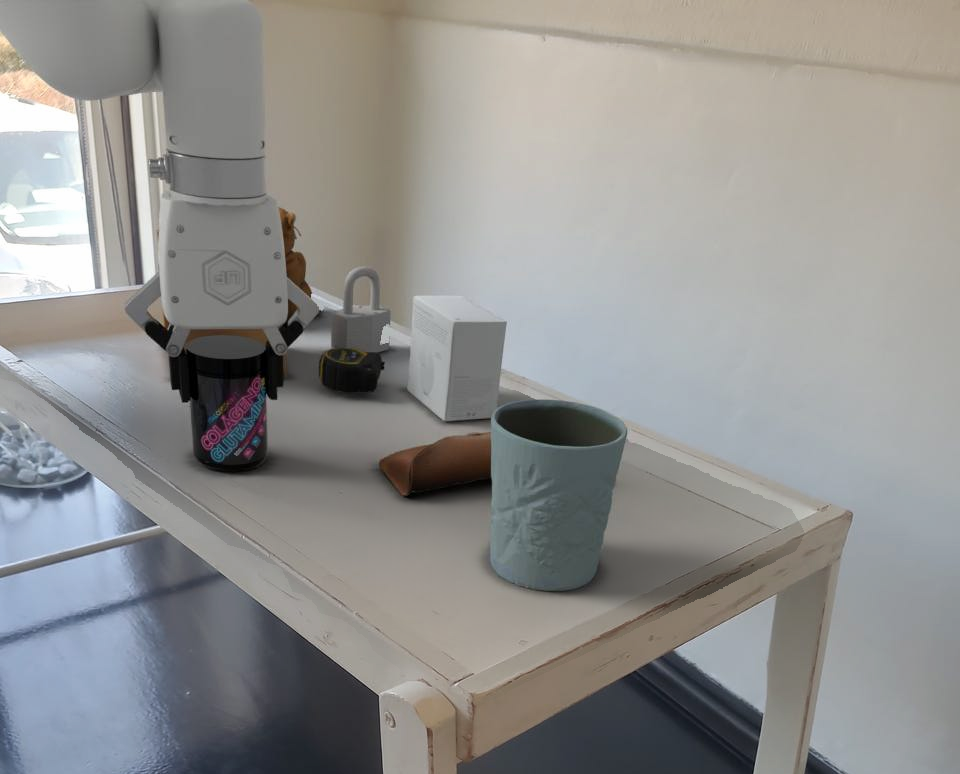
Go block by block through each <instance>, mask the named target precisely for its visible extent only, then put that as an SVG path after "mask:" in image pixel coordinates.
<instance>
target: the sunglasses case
mask: <svg viewBox="0 0 960 774" xmlns="http://www.w3.org/2000/svg"><path fill="white" fill-rule="evenodd" d="M378 467H379V469H380V470H381V471H382V473H383V474H384V476H385V477H386V479H387V480H388V482H390V484H391V485H392V486H393V487H394V488H395V490H396V491H397V492H398V493H399V494H400V495H401V496H402V497H407V496H409V495H411V494H412V493H415V494H416V493H417V494H418V493H424V492H426V491H427V492H428V491H435V490H439V489H442V488H448V487H449V488H450V487H452V486H453V487H454V486H456V485H458V484H459V485H460V484H462V485H464V484H468V483H472V482H475V481H479V480H484V481H485V480H492V478H491V431H486V432H485V431H484V432H477V431H476V432H474V431H473V432H468V434H464V435H462V434H461V435H449V436H444V437H442V438H440V439H438V440H437V441H434V442H432V443H429V444H422V445H419V446H418V445H417V446H414V447H410V448H405V449H402V450H399V451H395V452H394V453H390V454H388V455H387V456H384V457H382V458H380V459H379V462H378Z"/></svg>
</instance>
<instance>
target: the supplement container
mask: <svg viewBox="0 0 960 774" xmlns="http://www.w3.org/2000/svg"><path fill="white" fill-rule="evenodd" d="M186 355H187V358H188V369H189V384H190V399H191V401H189V409H190V425H191V426H190V427H191V440H192V453H193V456H194V458H195V460H196V461H197V462H198V464H200V465H201V466H202V467H204V468H206V469H209V470H212V471H217V472H223V473H224V472H225V473H239V472H240V473H241V472H245V471H246V472H247V471H249V470H253V469H256V468H258V467H260V466H261V465H262V464H264V462H265V461H266V459H267V457H268V453H269V449H268V448H269V446H268V444H269V443H268V410H267V409H268V407H267V406H268V405H267V394H266V348H265V345H264V344H262V343H261V342H259V341H257V340H254V339H250V338H246V337H240V336H230V335H214V336H205V337H200V338H196V339H193V340H191V341H189V342H188V343H187V344H186Z"/></svg>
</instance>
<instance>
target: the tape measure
mask: <svg viewBox="0 0 960 774" xmlns="http://www.w3.org/2000/svg"><path fill="white" fill-rule="evenodd" d="M385 364H386V361H383V358H382V356H381V354H380V353H379V352H377V353H376V352H364V351H360V350H357V349H351V348H336V349H331V348H330V349H328V350H326V351H324V352H323V353H322V354H321V355H320V358H319V360H318V378H319V380H320V382H321V384H322V385H323V386H324V387H325V388H327V389H329V390H331V391H334V392H338V393H344V394H362V393H363V394H365V393H366V394H367V393H373V392H375V391H376V390H377V388H378V384H379V379H380V376H381V372H382V371H384V370H385Z"/></svg>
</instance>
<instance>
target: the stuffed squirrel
mask: <svg viewBox="0 0 960 774" xmlns="http://www.w3.org/2000/svg"><path fill="white" fill-rule="evenodd" d="M278 208H279V213H280V219H281V225H282V232H283V241H284V250H285V261H286V276H287V278H288V279H290V280H291V281H292V282H293V283H294V284H295V285H296V286H297V287H299V288H300V289H301V290H302V291H303V292H304V293H305V294H306V295H308V296H309V297H310V298H311V294H313V292H312V289H311V286H310V285H309V283H308V282H307V281H306V273H307V261H306V258H305V256H304V254H303V253H302V252H301V251H294V250H293V248H294V247H295V242H296V240H297V239H298V238H297V235H296V232H295V230H296V231H297V233H298V235H299V237H302V234H301V233H300V231H299V229H298V228H297V227H296V226H295V222H296V221H297V215H296V214H295V213H294V212H289V211H287V210H286V209H284V208H283V207H279V206H278ZM296 310H297V306H296V305H295V304H294V303H293V302H292V301H290V300H289V299H288V315H287V319H286V321H287V320H288V319H289V318H291V317H292V316H293V315H294V313H295V312H296ZM322 312H323V311H321V310H319V312H318V314H317V315H316V316H318V315H320V314H321V313H322Z"/></svg>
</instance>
